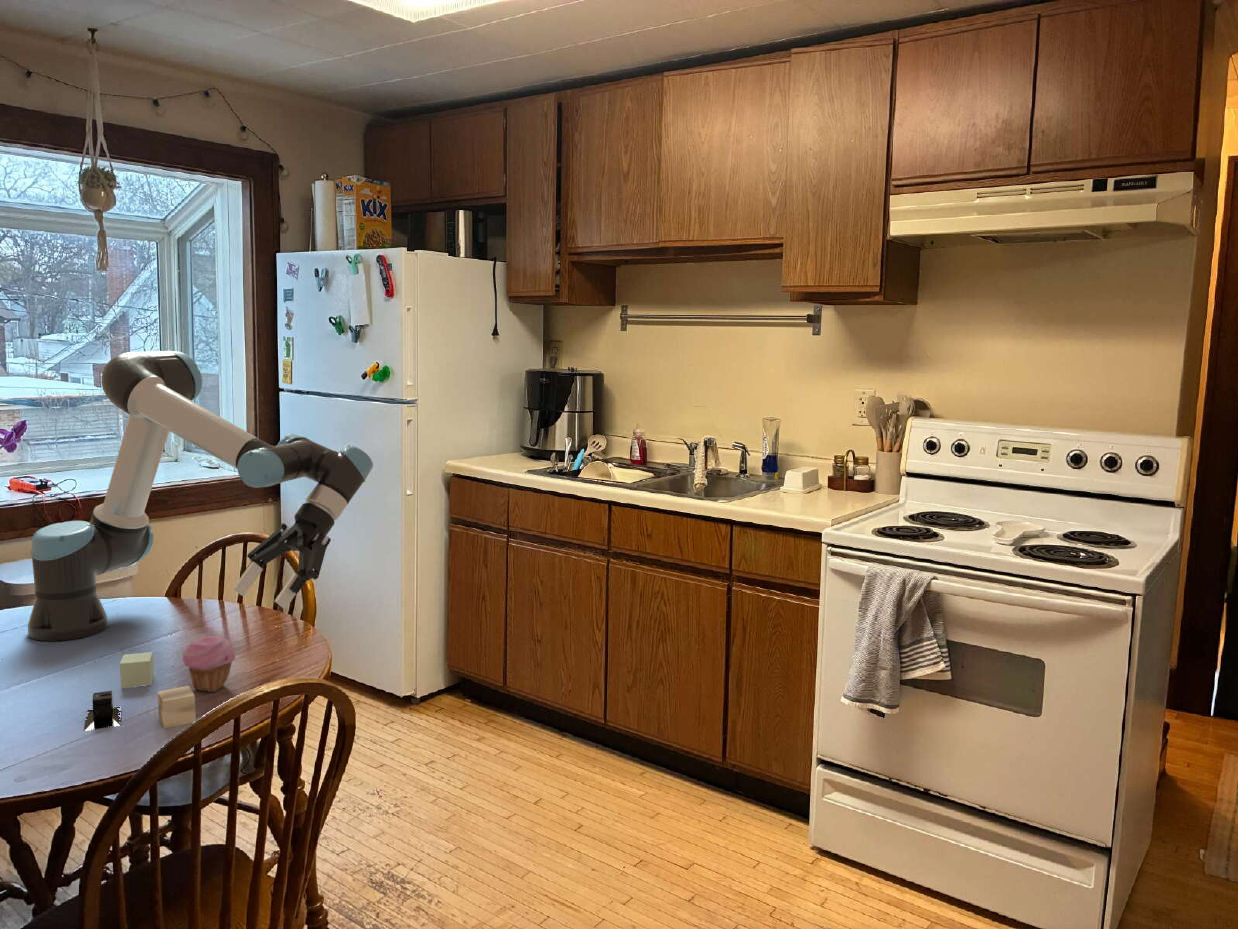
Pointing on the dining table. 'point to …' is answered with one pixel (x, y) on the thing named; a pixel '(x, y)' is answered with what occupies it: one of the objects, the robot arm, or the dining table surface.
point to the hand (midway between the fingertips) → (258, 598)
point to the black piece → (102, 712)
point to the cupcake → (209, 662)
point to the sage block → (136, 669)
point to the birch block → (176, 706)
